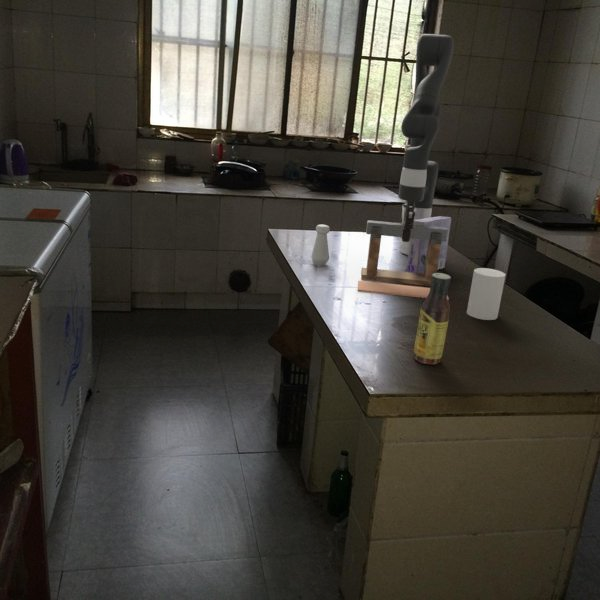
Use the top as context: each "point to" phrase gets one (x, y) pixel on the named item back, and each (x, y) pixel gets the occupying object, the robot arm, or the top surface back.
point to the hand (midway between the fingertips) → (405, 239)
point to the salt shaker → (321, 246)
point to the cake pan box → (420, 245)
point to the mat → (393, 289)
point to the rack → (399, 276)
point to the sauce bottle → (433, 322)
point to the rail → (397, 230)
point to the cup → (485, 293)
